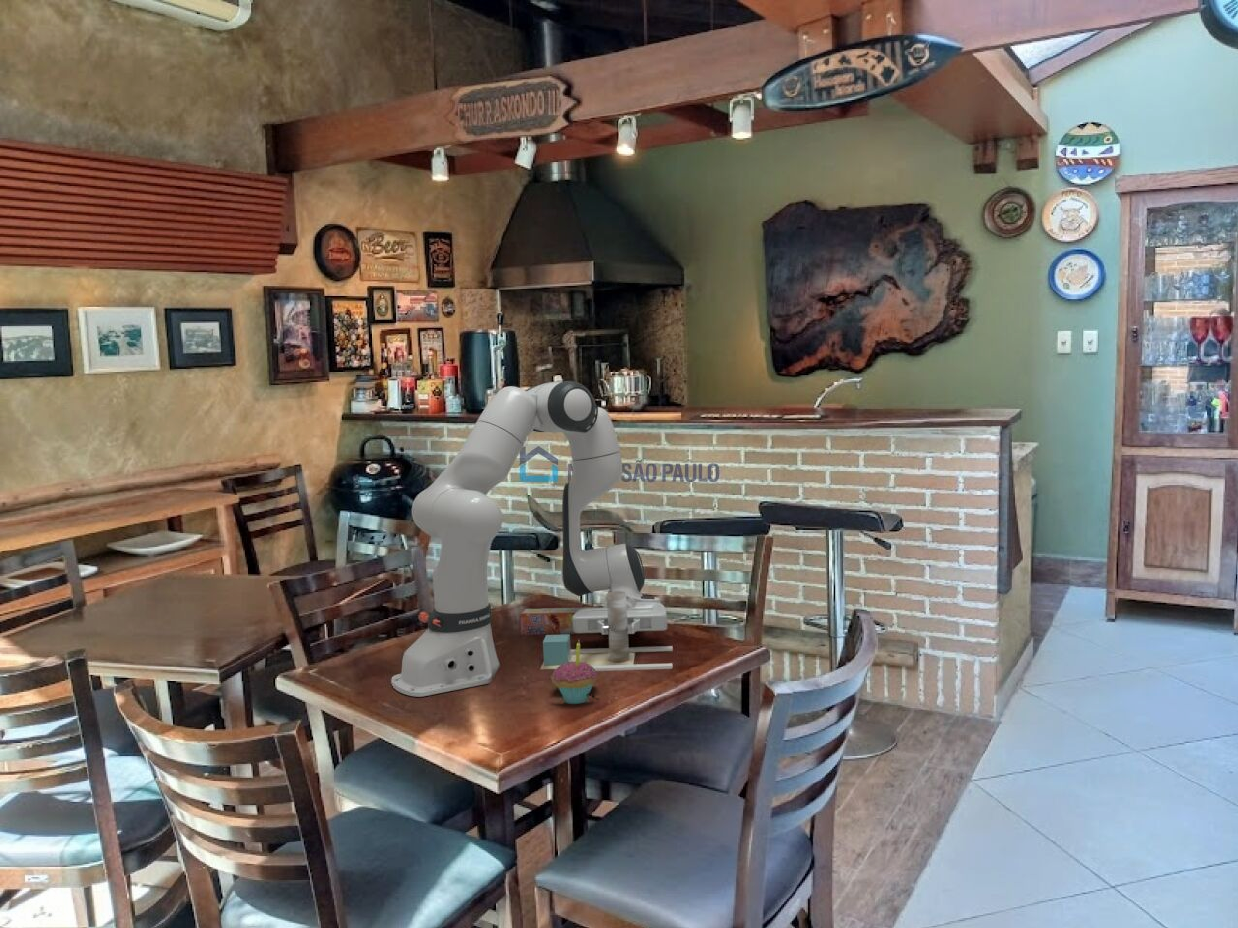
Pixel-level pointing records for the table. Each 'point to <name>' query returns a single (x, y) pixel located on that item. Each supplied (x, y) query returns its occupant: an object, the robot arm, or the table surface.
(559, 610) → the snack package
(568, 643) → the cube
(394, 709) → the table surface
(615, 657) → the post on flat base
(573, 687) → the cupcake
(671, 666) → the lane
